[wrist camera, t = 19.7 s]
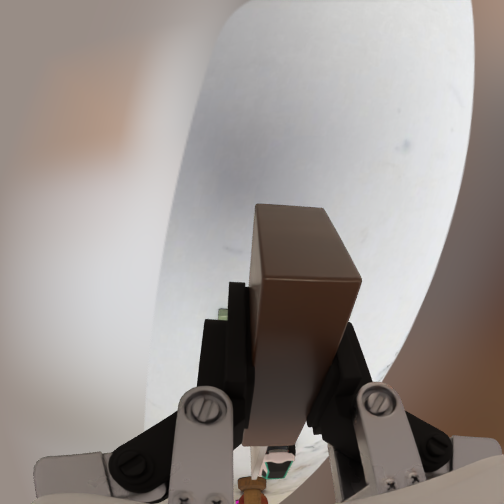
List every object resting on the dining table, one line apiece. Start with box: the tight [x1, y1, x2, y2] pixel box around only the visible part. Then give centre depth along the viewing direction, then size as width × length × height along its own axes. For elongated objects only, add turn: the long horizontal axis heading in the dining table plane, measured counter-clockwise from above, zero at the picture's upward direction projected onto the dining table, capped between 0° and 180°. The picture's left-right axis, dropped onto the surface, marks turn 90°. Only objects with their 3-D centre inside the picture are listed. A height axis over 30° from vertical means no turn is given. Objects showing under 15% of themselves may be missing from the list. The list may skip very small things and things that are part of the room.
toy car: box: [258, 444, 296, 479], centre depth 45 cm, size 6×12×5 cm, turn 178°
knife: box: [242, 204, 362, 480], centre depth 11 cm, size 15×2×4 cm, turn 176°
